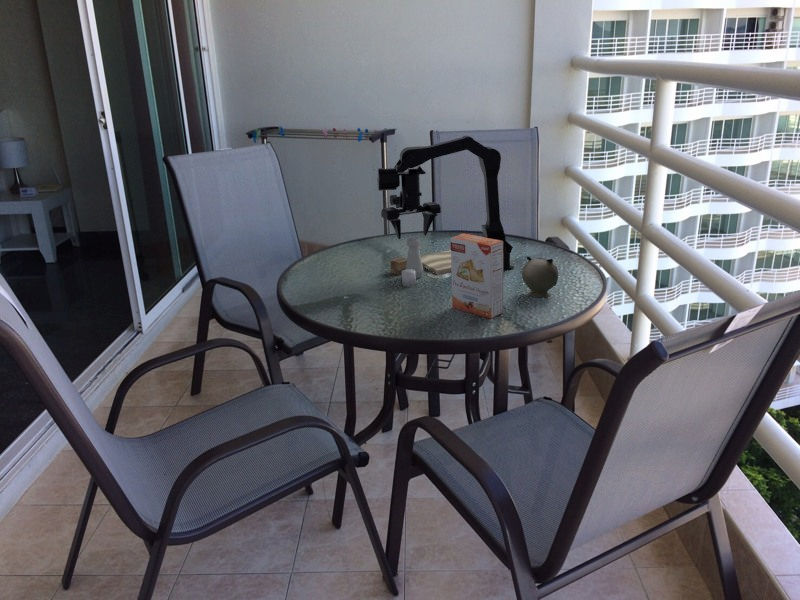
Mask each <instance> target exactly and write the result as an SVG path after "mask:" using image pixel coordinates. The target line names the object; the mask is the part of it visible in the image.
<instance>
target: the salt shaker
mask: <svg viewBox="0 0 800 600" xmlns="http://www.w3.org/2000/svg"><path fill="white" fill-rule="evenodd" d="M420 245H421V240H420V238H419V237H409V238H407V240H406V246H407V247H408V248H407V249H408V251H407V258H406V259H407V264H406V269H413V270H415V271H416V280H417V279H421V277H422V276H423V273H424V267H423V265H422V261H421V256H422V255H421V253H420V252H421V251H420V247H419V246H420Z"/></svg>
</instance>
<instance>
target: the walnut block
mask: <svg viewBox="0 0 800 600" xmlns="http://www.w3.org/2000/svg"><path fill="white" fill-rule="evenodd" d="M389 263H390V274H393V273H394V275H396V274H397V276H399V275H400V276H402V271H403V270H406V264H407V258H404V257H400V256H399V257H397V258H393V259H390V262H389Z"/></svg>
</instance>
